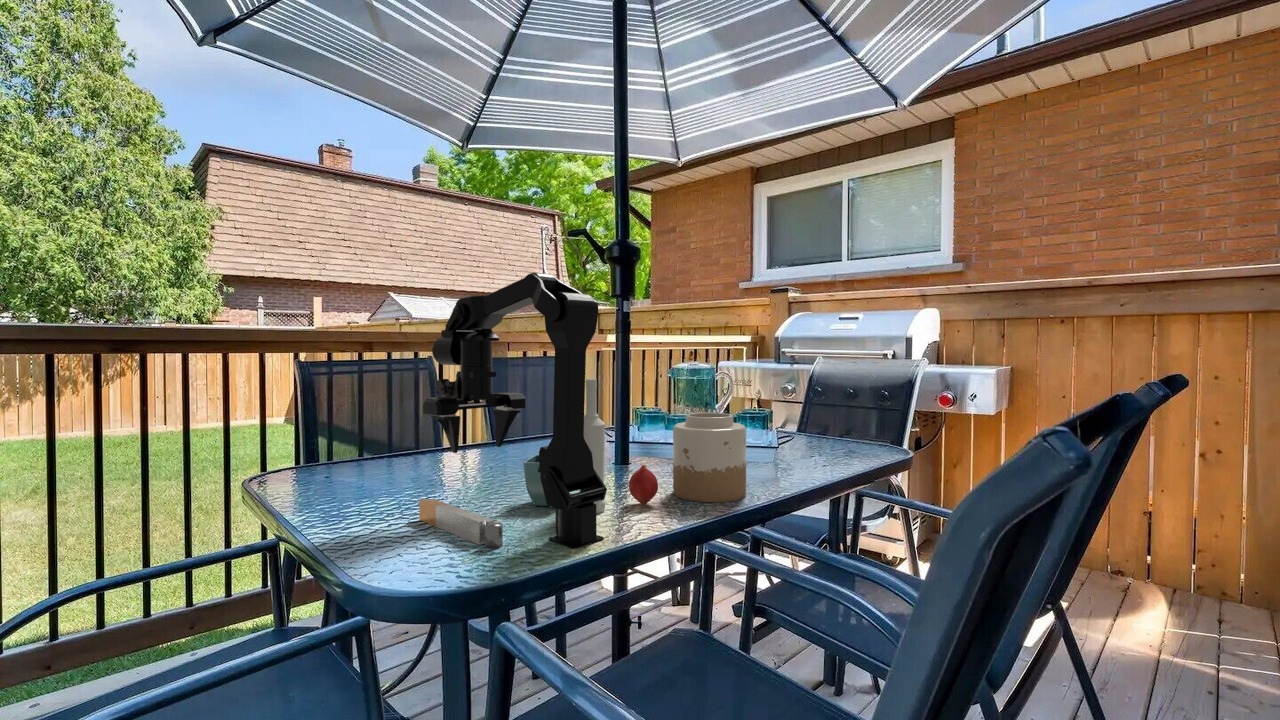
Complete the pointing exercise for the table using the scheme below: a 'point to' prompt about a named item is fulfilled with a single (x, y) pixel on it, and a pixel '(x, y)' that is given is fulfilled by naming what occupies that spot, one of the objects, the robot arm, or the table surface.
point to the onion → (643, 485)
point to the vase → (709, 458)
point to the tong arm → (453, 521)
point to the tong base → (491, 528)
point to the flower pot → (534, 481)
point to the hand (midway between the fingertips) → (477, 449)
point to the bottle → (595, 435)
